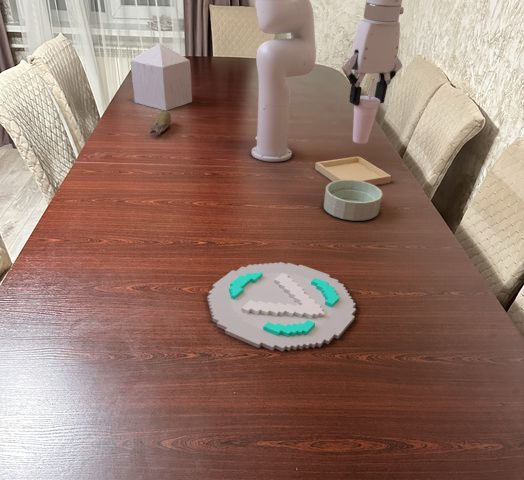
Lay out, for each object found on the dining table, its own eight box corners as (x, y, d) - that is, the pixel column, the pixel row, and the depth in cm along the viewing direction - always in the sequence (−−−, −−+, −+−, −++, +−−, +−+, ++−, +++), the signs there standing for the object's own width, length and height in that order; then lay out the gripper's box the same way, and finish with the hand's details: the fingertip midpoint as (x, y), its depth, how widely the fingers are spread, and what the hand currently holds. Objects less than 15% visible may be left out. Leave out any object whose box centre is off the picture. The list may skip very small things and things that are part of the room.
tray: (314, 168, 157) (315, 162, 155) (357, 162, 162) (358, 156, 161) (345, 190, 145) (346, 183, 144) (390, 182, 151) (391, 175, 150)
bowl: (312, 202, 139) (315, 184, 135) (358, 194, 144) (361, 176, 141) (342, 225, 129) (345, 206, 126) (390, 216, 134) (394, 197, 131)
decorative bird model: (175, 122, 184) (174, 107, 181) (162, 140, 169) (160, 124, 166) (161, 121, 185) (160, 106, 181) (146, 139, 169) (145, 123, 166)
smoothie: (372, 147, 127) (384, 84, 117) (346, 143, 127) (355, 81, 118) (373, 138, 131) (385, 77, 122) (348, 135, 132) (357, 74, 123)
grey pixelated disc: (310, 371, 87) (311, 363, 86) (179, 313, 98) (179, 306, 97) (375, 294, 106) (376, 287, 105) (259, 253, 117) (259, 246, 116)
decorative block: (192, 101, 205) (190, 43, 192) (166, 110, 194) (161, 49, 181) (161, 94, 211) (157, 37, 198) (133, 102, 200) (127, 43, 187)
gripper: (403, 10, 117) (386, 95, 129) (338, 11, 111) (327, 101, 123) (424, 16, 112) (405, 104, 124) (357, 17, 106) (344, 110, 118)
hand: (366, 102), depth 123 cm, fingers closed on smoothie, 6 cm apart
